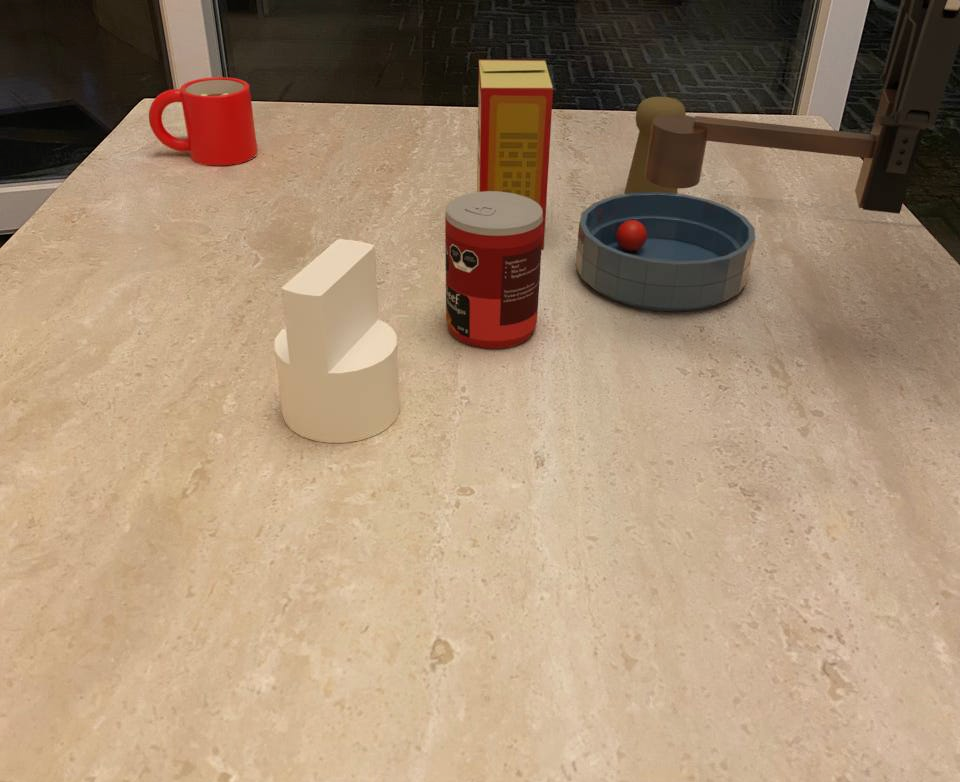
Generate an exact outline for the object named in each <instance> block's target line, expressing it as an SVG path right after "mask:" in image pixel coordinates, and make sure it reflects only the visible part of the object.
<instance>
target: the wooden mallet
mask: <svg viewBox="0 0 960 782" xmlns="http://www.w3.org/2000/svg"><path fill="white" fill-rule="evenodd" d="M896 94H897V90H892V89H883V92H882V95H880V100H879V103H878V107H877V110H876V114H875V118H874V120H873V125H872V127H871V132H870V133H862V132H854V131H853V132H852V131H843V130H834V129H824V128H813V127H806V126H795V125H788V124H787V125H786V124H778V123H777V124H776V123H766V122H757V121H747V120H738V119H729V118H718V117H708V116H701V115H695V116H691V115H686V116H685V115H663V116H659V117H656V118H655V119H654V120H653V122H652V129H651V136H650V143H649V150H648V157H647V164H646V171H645V177H646V179H647V180H648V181H649V182H651V183H653V184H655V185H658V186H662V187H667V188H677V190H678V189H689V188H693V187H696V186H697V185H699V183H700V182H701V181H700V180H701V176H702V170H703V166H704V165H703V164H704V159H705V152H706V148H707V142H715V143H724V144H733V145H740V146H741V145H743V146H749V147H750V146H752V147H761V148H768V149H780V150H787V151H796V152H797V151H799V152H807V153H815V154H816V153H817V154H827V155H834V156H844V157H852V158H853V157H854V158H862V159H863V160H862V164H861V168H860V171H859V175H858V178H857V181H856V186H855V189H854V192H855V196H856V201H857V205H858V208H859V209H863V207H862V205H863V202H864V198H865V195H866V191H867V187H868V184H869V180H870V176H871V173H872V169H873V165H874V162H875V158H876V154H877V151H878V147H879V143H880V140H881V136H882V132H883V129H884V126H883V125H879V120H880V115H881V116H890V114H892V110H893V106H894V102H895V98H896Z"/></svg>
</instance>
